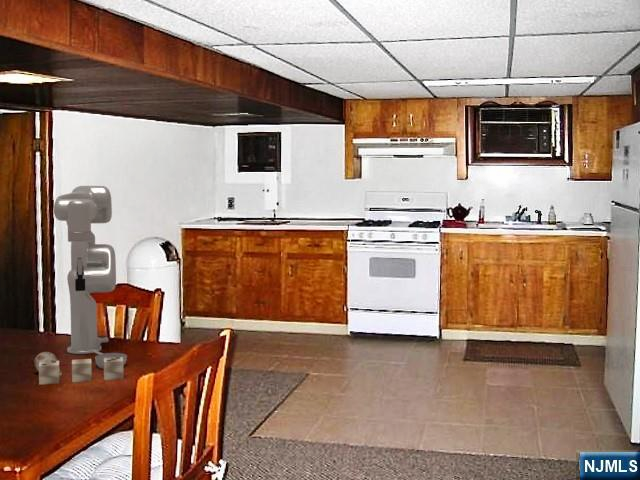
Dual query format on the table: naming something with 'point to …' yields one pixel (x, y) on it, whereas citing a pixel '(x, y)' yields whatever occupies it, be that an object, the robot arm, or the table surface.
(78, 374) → the plain block
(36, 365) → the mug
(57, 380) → the pip block
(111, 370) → the pip block
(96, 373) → the table surface
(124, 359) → the small pan
